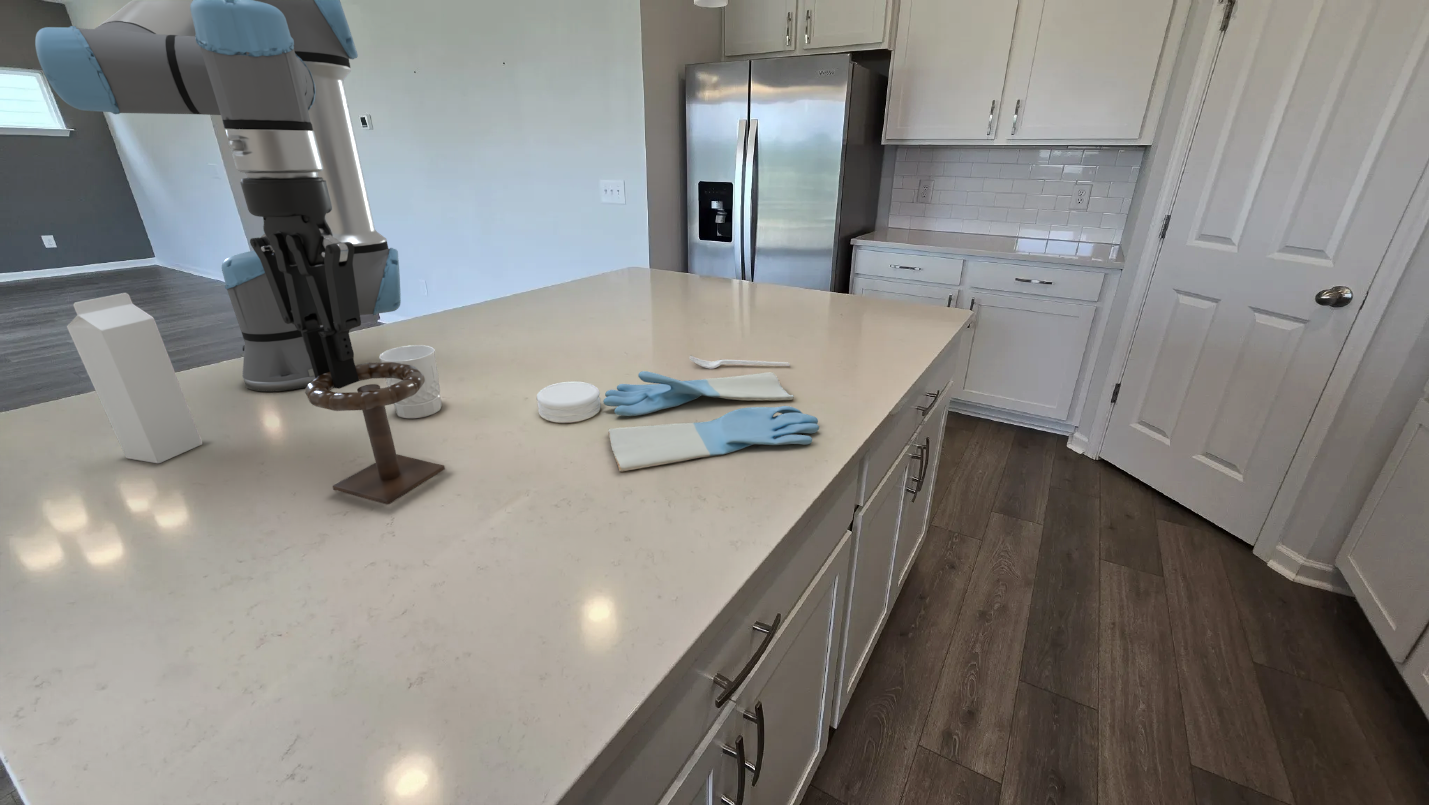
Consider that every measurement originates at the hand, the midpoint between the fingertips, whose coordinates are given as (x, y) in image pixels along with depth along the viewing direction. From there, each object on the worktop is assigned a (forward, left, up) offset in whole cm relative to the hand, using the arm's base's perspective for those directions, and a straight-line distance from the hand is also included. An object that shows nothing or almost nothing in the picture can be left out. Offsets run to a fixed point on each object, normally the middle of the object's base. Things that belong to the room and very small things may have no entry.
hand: (338, 382), depth 71 cm
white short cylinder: (+13, +28, -14) cm, 34 cm away
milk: (-32, -5, -14) cm, 35 cm away
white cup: (-10, +19, -14) cm, 26 cm away
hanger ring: (+5, 0, 0) cm, 5 cm away
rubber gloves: (+35, +34, -14) cm, 51 cm away
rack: (+5, 0, -13) cm, 14 cm away
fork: (+32, +59, -14) cm, 69 cm away
